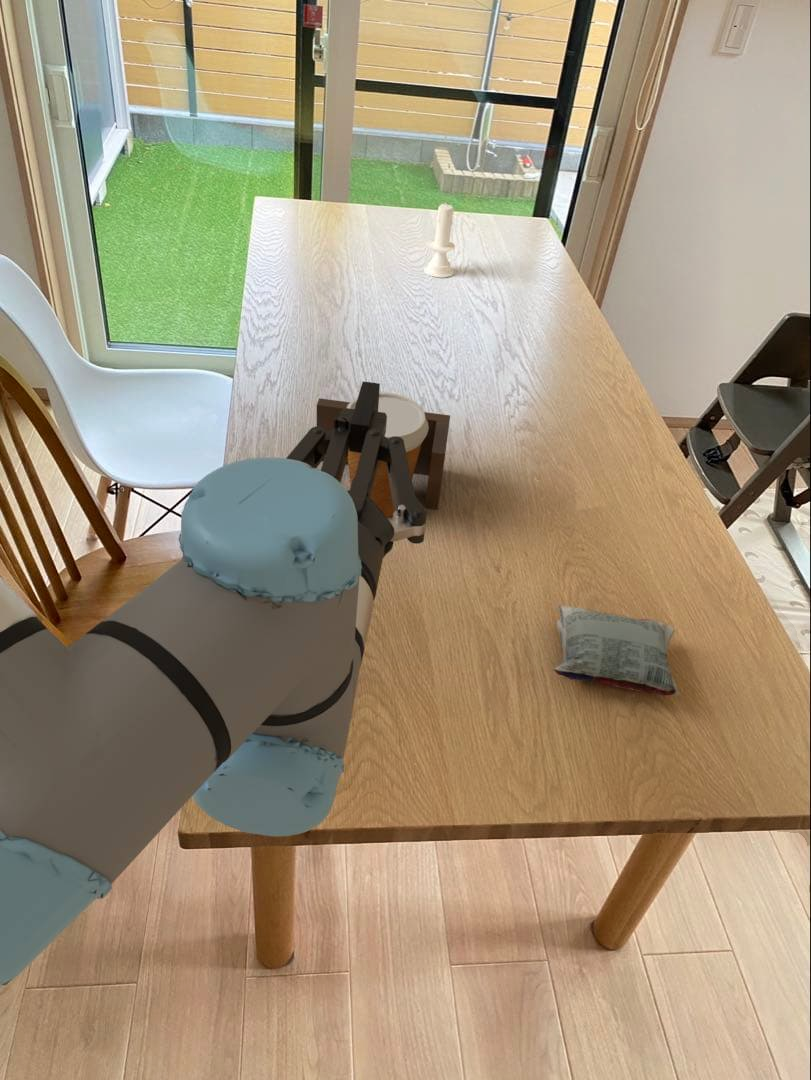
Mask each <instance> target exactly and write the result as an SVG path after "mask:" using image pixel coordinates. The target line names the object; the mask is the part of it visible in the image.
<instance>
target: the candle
mask: <svg viewBox="0 0 811 1080" xmlns="http://www.w3.org/2000/svg"><path fill="white" fill-rule="evenodd" d="M437 209H438V211H437V218H436V226H435V227H436V228H435V236H434V240H431V241H429V242H428V244H427V245H428V247H429V248H430V249H431V250H433V251H434V252H435V253H434V255H433V257H432V258H431V259H430V260H429V261H428V264H427V265H426V266H424V268H423V271H424V273H425V274H426V275H428V276H430V277H434V278H440V279H441V278H442V279H443V278H450V277H452V276H453V275H454V273H455V271H454V270H453V268H452V267H451V262H450V261H449V260H448V257H447V253H448V252H450V251H453V250H455V248H456V245H455V244H454V243H453V242H451V241H450V239H451V233H452V232H451V231H452V226H453V218H454V217H453V216H454V207H453V205H452V204H447V202H446V201H445V202H444V203H441V204H440V205H439V206H438V208H437Z"/></svg>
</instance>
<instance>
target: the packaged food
mask: <svg viewBox="0 0 811 1080" xmlns="http://www.w3.org/2000/svg"><path fill="white" fill-rule="evenodd" d="M556 607H557V610H558V613H559V617H560V618H559V619H558V620H557V622H556V626H557V630H558V632H560V645H561V646H562V647H561V648H562V652H563V655H562V662H561V663H560V664H558V665H557V666H556V667H554V668H553V671H554V672H555V673H556V674H557V675H559V676H562V677H565V678H566V679H569V680H573V681H580V682H587V683H595V684H601V685H611V686H614V687H617V688H621V689H627V690H631V691H632V690H633V691H637V692H640V693H645V694H646V693H647V694H652V695H656V696H661V697H664V696H680V695H681V694H680V692H679V689H678V687H677V683H676V681H675V680H674V678H673V677H672V674H671V670H670V665H669V662H668V657H667V656H668V655H667V653H668V649H669V645H670V643H671V640H672V638H673V635H674V634H675V628H674V627H672V626H670V625H668V624H667V623H665V622H663V621H659V622H657V621H656V620H655V619H652V618H635V617H631V616H626V615H622V614H615V613H609V612H599V611H595V610H590V609H587V608H581V607H579V606H577V607H576V606H567V605H566V606H565V605H559V604H558V601H556Z"/></svg>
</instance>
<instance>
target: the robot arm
mask: <svg viewBox="0 0 811 1080" xmlns="http://www.w3.org/2000/svg"><path fill="white" fill-rule="evenodd" d="M380 387H381V383H379V382H371V381H363V380H362V382H361V386H360V388H359V389H360V390H359V392H358V395H357V397H358V399H357V402H356V406H355V409H349V408H344V409H343V410H342V411H341V413H340V416H339V417H337V418H335V420H334V429H333V430H331V431H325V429H324V428H322V427H317V426H313V427H311V428H310V429H309V430H308V431H307V432H306V434H305V435H303V437H302V439H301V440H300V441H299V442H298V443H297V445H295V447H294V448H293V449H292V451H291V452H290V453H289V454H288V455H287V457H286V458H283V457H276V456H275V457H268V456H267V457H254V458H247V459H241V460H237V461H234V462H231V463H228V464H225V465H222V466H220V467H218V468H216V469H214V470H213V471H211V472H210V473H208V474H206V475H205V476H204V477H203V478H201V479H200V480H199V481H198V482H197V483H196V484H195V485H194V486H193V488H192V490H191V493H190V494H189V495H188V498H187V500H186V502H185V503H184V505H183V509H182V511H181V517H180V533H179V535H178V543H179V549H180V551H181V553H182V557H181V559H180V560H178V561H177V562H176V563H174V565H173V566H171V567H170V568H169V569H168V570H167V571H165V572H164V573H162V574H161V575H160V576H158V577H157V578H156V579H154V580H153V581H152V582H151V583H150V584H148V585H147V586H146V587H144V588H143V589H142V590H140V591H139V592H137V594H135V595H134V596H132V597H131V598H130V599H128V600H127V601H126V602H125V603H124V604H122V605H121V606H120V607H119V608H117V609H116V610H115V611H113V612H112V613H111V614H110V615H108V616H107V617H106V618H104V619H103V620H102V621H100V622H99V623H97V624H96V625H95V626H93V627H92V628H91V629H90V630H88V631H87V632H86V633H84V634H83V635H81V636H80V637H79V638H78V639H76V640H75V641H74V642H72V643H71V644H69V645H68V646H67V645H66V644H64V643H63V642H62V641H61V639H59V638H58V636H57V635H55V634H54V633H53V632H52V631H50V629H49V628H48V627H47V626H46V625H45V624H44V623H43V622H42V621H41V620H40V619H39V618H38V615H37V614H36V612H35V611H34V610H33V609H32V607H30V606H29V605H28V604H27V603H26V601H24V600H23V598H22V597H20V595H18V593H17V592H16V591H15V590H14V589H13V588H12V587H11V586H10V585H9V584H8V583H7V581H5V579H4V578H3V577H2V576H1V575H0V987H3V986H7V985H8V984H9V983H10V982H12V981H13V980H15V978H17V977H18V976H19V975H20V974H21V973H22V972H24V970H25V969H26V968H28V966H30V964H32V962H34V960H35V959H36V958H37V957H38V956H39V955H40V954H42V952H43V951H45V950H46V948H47V947H48V946H50V945H51V943H53V942H54V941H55V940H56V939H57V938H58V937H59V936H60V935H61V934H62V933H63V932H64V931H65V930H66V929H67V928H68V927H69V926H70V925H71V924H72V923H73V922H74V921H75V920H76V919H77V918H78V917H79V916H80V915H81V914H82V913H83V912H84V911H85V910H87V908H88V907H89V906H90V905H91V904H92V903H93V902H95V901H96V900H100V899H104V898H105V897H106V896H108V894H109V893H110V892H111V891H112V889H113V888H112V885H113V883H114V882H115V881H116V880H117V879H118V878H119V877H120V876H121V875H122V873H123V872H124V871H125V870H126V869H127V868H128V867H129V866H130V865H131V864H132V863H133V862H134V861H135V859H136V858H137V857H138V856H139V855H140V854H141V853H142V851H144V849H145V848H146V847H147V846H148V845H149V844H150V843H151V842H152V841H153V839H154V838H155V837H156V836H158V835H159V833H160V832H161V831H162V830H163V829H164V828H165V826H166V825H167V824H168V823H169V822H170V821H171V820H172V818H174V817H175V815H176V814H178V812H179V811H180V810H181V809H182V808H183V807H184V805H185V804H187V802H188V801H189V800H190V799H191V798H193V800H194V802H195V803H196V804H197V806H198V807H199V808H200V809H201V810H202V811H203V812H204V813H206V814H207V815H208V816H209V817H211V818H212V819H213V820H215V821H217V822H219V824H222V825H224V826H227V827H228V828H231V829H234V830H237V831H239V832H243V833H248V834H252V835H260V836H266V837H276V838H277V837H290V836H296V835H300V834H304V833H306V832H309V831H311V830H313V829H315V828H316V827H318V826H319V825H320V824H322V823H323V822H324V821H325V819H327V818H328V816H329V814H330V813H331V811H332V808H333V805H334V802H335V799H336V798H335V797H336V794H337V790H338V785H339V781H340V779H341V778H340V777H341V775H342V774H343V773H344V772H345V767H346V764H345V760H344V758H345V754H346V748H347V743H348V737H349V732H350V727H351V721H352V717H353V711H354V706H355V699H356V693H357V687H358V682H359V676H360V671H361V666H362V663H363V659H364V654H365V649H366V644H367V639H368V635H369V630H370V625H371V619H372V616H373V610H374V606H375V603H374V602H375V599H376V597H377V591H378V585H379V582H380V581H379V580H380V576H381V570H382V565H383V561H384V558H385V557H386V556H387V554H389V553H390V552H391V551H392V550H393V547H394V542H398V541H401V540H405V539H407V541H408V542H410V543H411V544H416V545H419V544H421V543H423V542H424V541H425V534H426V527H427V517H428V512H427V511H428V510H426V508H425V506H423V505H422V503H421V502H420V501H419V499H418V498H417V497H416V494H415V489H414V484H413V478H412V479H411V474H410V469H409V464H408V459H407V455H406V450H405V445H404V441H403V439H402V438H401V437H397V436H393V437H390V438H386V437H385V433H386V423H387V415H386V413H383V412H378V405H379V393H380ZM348 450H349V451H351V452H358V453H361V456H360V459H359V463H358V467H357V470H356V474H355V478H353V481H352V484H350V487H349V490H347V489H346V488H345V486H344V485H343V484H342V478H343V476H344V472H345V468H346V466H347V464H346V461H347V458H348ZM324 457H325V459H324ZM323 459H324V461H322V460H323ZM380 460H381V461H383V462H386V463H387V464H386V466H387V472H388V478H389V483H390V489H391V495H392V501H393V506H394V513H393V516H392V520H391V521H390V520H389V519H388V517H385V515H384V514H383V513H382V512H381V510H380V509H379V508H378V507H377V505H376V504H375V503H374V502H373V500H372V499H371V496H372V491H373V487H374V483H375V479H376V474H377V470H378V466H380ZM321 463H322V465H321V468H318V467H319V466H320V464H321Z"/></svg>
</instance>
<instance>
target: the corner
mask: <svg viewBox="0 0 811 1080" xmlns="http://www.w3.org/2000/svg"><path fill="white" fill-rule="evenodd" d="M350 402H351V401H343V400H334V399H327V398H321V397H319V398H318V399H317V403H316V427H322V428H324V429H325V431H331V430H333V429H334V420H335V418H337V417H339V416H340V413H341V411H342V410H343V409H344V408H347V406H348V404H349V403H350ZM424 413H425V418H426V419H427V422H428V426H429V429H428V433H427V435H426V437H425V438H424V440H423V442H422V443H421V447H420V451H419V455H418V459H417V463H416V466H415V470H414V474H416V475H417V474H418V475H425V476H428V478H427V479H428V481H427V486H426V496H425V503H424V508H425V509H431V510H432V509H433V510H438V509H439V508H438V507H439V502H440V494H441V488H442V482H443V481H442V480H443V474H444V467H445V466H444V465H445V459H446V451H447V444H448V437H449V436H448V435H449V429H450V421H451V415H449V414H443V413H436V412H435V413H434V412H428V411H427V412H426V411H424ZM324 459H325V457H324ZM324 459H323V460H322V461H321V462H324ZM346 465H348V458H347V461H346Z"/></svg>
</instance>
